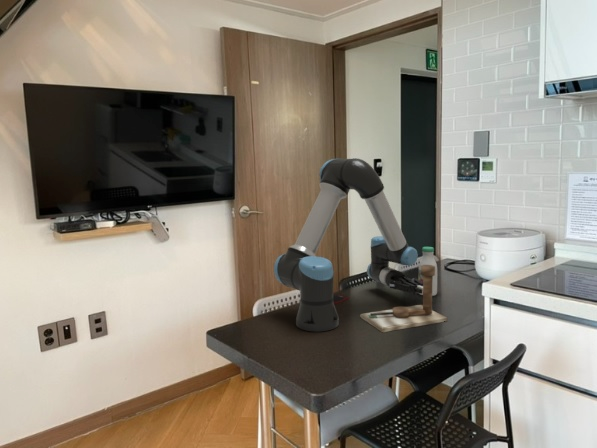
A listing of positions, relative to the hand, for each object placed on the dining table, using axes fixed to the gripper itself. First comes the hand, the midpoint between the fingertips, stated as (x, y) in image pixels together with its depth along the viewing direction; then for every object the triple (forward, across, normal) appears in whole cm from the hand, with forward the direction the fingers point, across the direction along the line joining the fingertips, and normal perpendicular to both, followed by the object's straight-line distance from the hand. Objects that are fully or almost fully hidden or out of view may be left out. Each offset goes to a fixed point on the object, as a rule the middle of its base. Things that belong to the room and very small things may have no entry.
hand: (429, 293), depth 167 cm
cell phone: (-32, +24, -9) cm, 41 cm away
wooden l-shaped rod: (-1, +11, -6) cm, 13 cm away
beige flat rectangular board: (-1, +10, -8) cm, 13 cm away
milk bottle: (-22, -16, -9) cm, 29 cm away
